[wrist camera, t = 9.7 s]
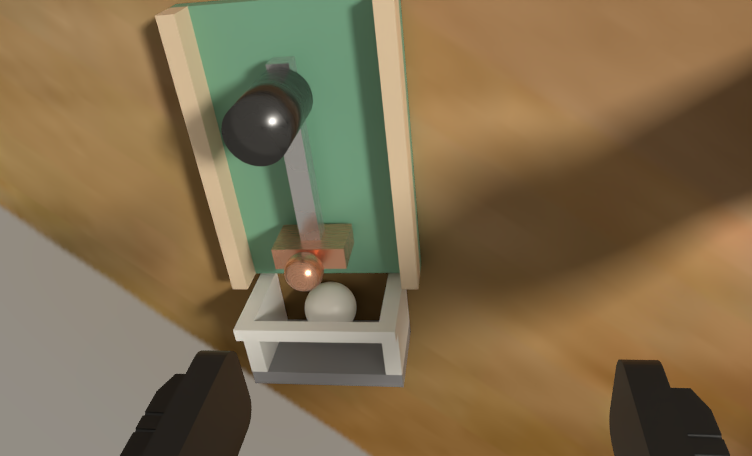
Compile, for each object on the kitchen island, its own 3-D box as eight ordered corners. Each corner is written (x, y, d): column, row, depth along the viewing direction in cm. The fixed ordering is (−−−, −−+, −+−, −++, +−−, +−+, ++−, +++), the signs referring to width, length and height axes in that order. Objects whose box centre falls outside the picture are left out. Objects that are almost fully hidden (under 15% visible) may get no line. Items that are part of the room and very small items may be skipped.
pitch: (399, -15, 35) (393, -4, 33) (421, 264, 46) (418, 289, 43) (175, 4, 38) (154, 15, 35) (245, 265, 48) (232, 289, 46)
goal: (404, 270, 46) (394, 332, 40) (410, 331, 50) (402, 397, 44) (262, 270, 48) (232, 330, 42) (276, 330, 51) (251, 392, 46)
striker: (326, 50, 36) (294, 95, 30) (355, 248, 44) (334, 318, 37) (247, 55, 37) (199, 100, 31) (288, 249, 45) (257, 317, 38)
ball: (355, 345, 46) (363, 310, 49) (348, 304, 44) (356, 270, 47) (304, 344, 46) (315, 309, 50) (294, 304, 44) (306, 271, 48)
